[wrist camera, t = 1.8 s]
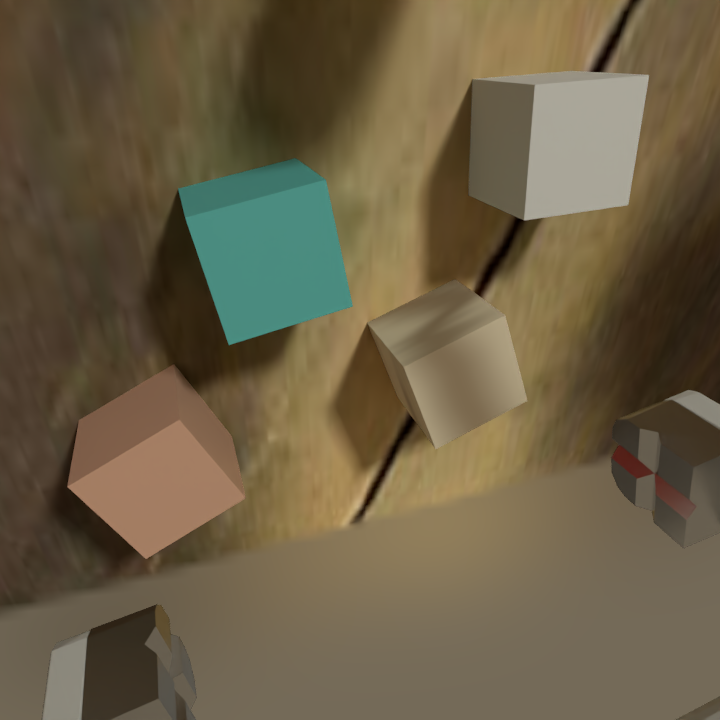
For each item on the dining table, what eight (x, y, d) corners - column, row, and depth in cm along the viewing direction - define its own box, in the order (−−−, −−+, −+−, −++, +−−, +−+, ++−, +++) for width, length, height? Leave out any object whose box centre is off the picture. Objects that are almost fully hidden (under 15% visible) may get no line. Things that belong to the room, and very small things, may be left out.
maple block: (454, 278, 30) (504, 315, 26) (478, 355, 33) (527, 400, 29) (366, 322, 30) (403, 367, 26) (397, 397, 32) (435, 449, 28)
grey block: (570, 70, 27) (648, 74, 23) (559, 182, 30) (628, 205, 25) (471, 79, 26) (534, 84, 22) (467, 195, 28) (523, 220, 24)
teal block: (295, 157, 25) (325, 179, 21) (320, 267, 28) (352, 306, 24) (178, 188, 24) (185, 217, 20) (215, 298, 27) (228, 345, 23)
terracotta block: (173, 363, 28) (179, 419, 23) (231, 435, 30) (245, 498, 26) (79, 419, 27) (67, 486, 23) (145, 487, 30) (145, 558, 26)
